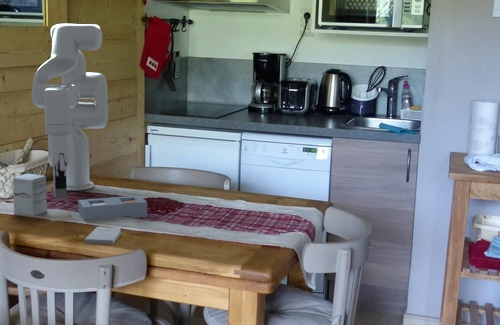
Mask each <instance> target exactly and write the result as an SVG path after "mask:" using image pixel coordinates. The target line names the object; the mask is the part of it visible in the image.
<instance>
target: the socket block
mask: <svg viewBox="0 0 500 325" xmlns="http://www.w3.org/2000/svg"><path fill="white" fill-rule="evenodd" d="M77 204H78V205H77V207H78V208H77V210H78V214H79V215H80V217H81V218H82V220H83V221H89V220H90V221H91V220H96V219H97V220H99V219H108V218H109V219H110V218H120V217H129V218H130V219H131V218H132V219H141V218H140V217H143V218H148V201H147V200H146V199H145V198H144V197H143V196H141V195H140V194H138V195H127V196H115V197H114V196H113V197H101V198H100V197H99V198H88V199H78V200H77Z"/></svg>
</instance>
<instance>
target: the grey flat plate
mask: <svg viewBox="0 0 500 325" xmlns="http://www.w3.org/2000/svg"><path fill="white" fill-rule="evenodd" d="M46 216H47V217H48V219H49V220H50V221H51V222H54V221H55V222H56V221H68V220H75V218H74V216H73V214H72V213H71V212H70V211H67V212H58V213H57V212H56V213H55V212H54V213H46Z"/></svg>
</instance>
